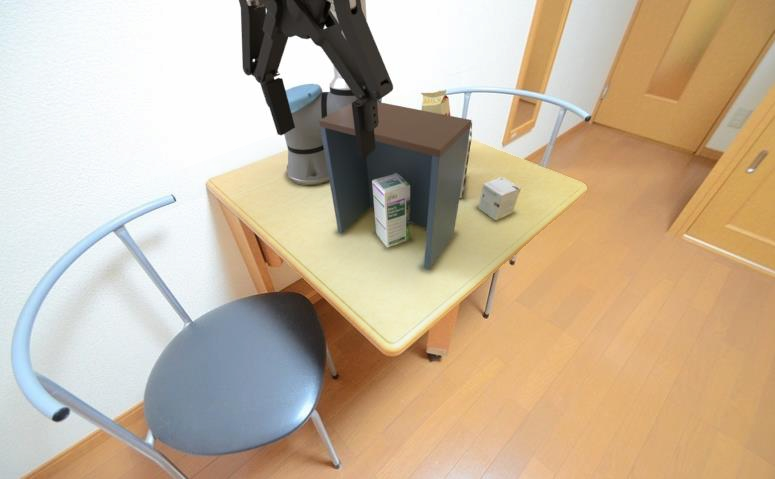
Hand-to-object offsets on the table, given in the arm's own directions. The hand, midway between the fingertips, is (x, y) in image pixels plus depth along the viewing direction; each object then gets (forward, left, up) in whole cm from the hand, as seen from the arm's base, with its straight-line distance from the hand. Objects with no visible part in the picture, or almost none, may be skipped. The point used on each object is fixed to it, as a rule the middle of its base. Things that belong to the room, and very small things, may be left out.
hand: (324, 141), depth 42 cm
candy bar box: (+4, +43, -30) cm, 52 cm away
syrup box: (0, +17, -30) cm, 34 cm away
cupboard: (0, +18, -30) cm, 34 cm away
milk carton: (-9, +56, -30) cm, 64 cm away
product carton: (+17, +38, -30) cm, 51 cm away
